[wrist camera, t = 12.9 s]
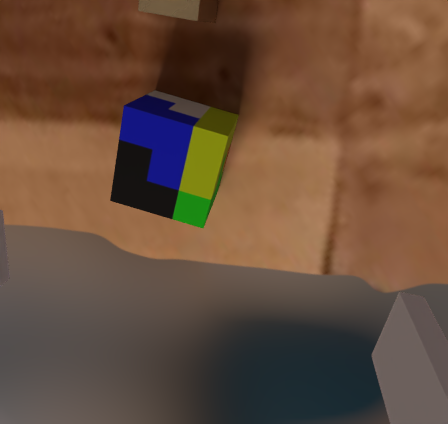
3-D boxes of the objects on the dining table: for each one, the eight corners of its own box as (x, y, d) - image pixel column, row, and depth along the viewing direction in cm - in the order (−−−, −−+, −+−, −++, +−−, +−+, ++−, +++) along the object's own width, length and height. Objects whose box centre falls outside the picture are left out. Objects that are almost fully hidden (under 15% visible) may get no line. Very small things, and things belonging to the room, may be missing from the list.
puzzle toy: (155, 90, 45) (124, 105, 36) (238, 114, 45) (228, 136, 36) (141, 169, 50) (110, 200, 41) (217, 192, 50) (203, 228, 41)
